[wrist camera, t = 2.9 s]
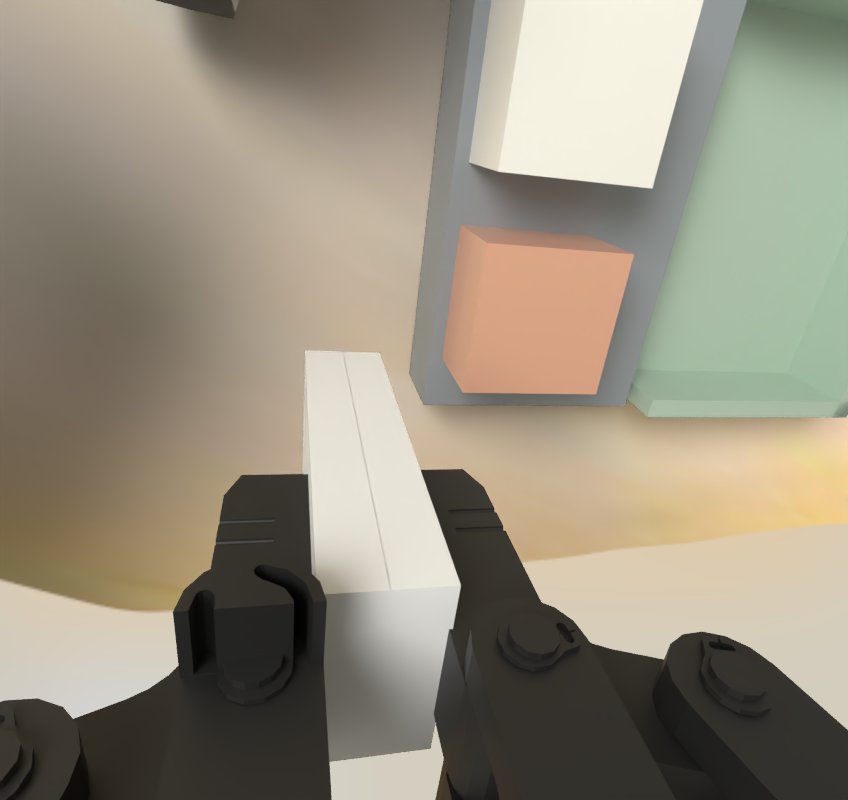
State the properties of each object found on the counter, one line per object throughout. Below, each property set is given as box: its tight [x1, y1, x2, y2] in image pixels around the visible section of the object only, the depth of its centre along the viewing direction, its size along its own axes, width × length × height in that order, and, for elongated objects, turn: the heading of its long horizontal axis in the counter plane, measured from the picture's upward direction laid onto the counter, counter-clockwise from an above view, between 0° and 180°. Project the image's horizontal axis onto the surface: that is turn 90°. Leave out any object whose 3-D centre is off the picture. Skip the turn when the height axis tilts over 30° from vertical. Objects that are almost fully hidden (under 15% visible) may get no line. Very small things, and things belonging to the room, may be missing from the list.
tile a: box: [442, 225, 634, 394], centre depth 20 cm, size 5×5×3 cm
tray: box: [627, 0, 848, 417], centre depth 23 cm, size 10×16×4 cm, turn 173°
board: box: [409, 0, 747, 406], centre depth 21 cm, size 9×16×3 cm, turn 173°
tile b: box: [469, 0, 704, 189], centre depth 17 cm, size 5×5×3 cm
